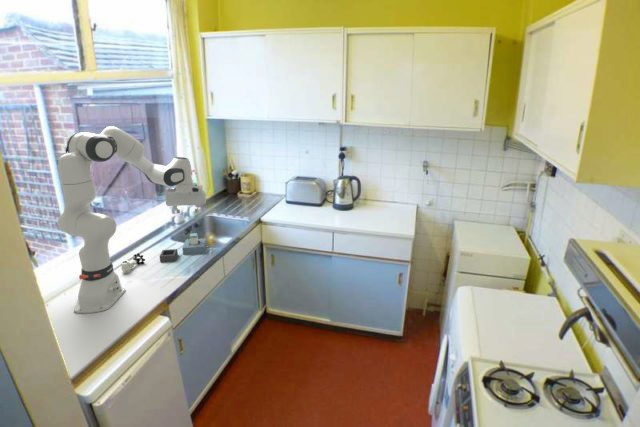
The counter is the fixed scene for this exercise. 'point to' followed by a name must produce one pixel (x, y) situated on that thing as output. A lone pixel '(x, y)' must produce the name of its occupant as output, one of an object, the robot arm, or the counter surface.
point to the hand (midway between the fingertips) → (187, 212)
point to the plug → (194, 239)
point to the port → (194, 247)
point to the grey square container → (168, 255)
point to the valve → (131, 263)
